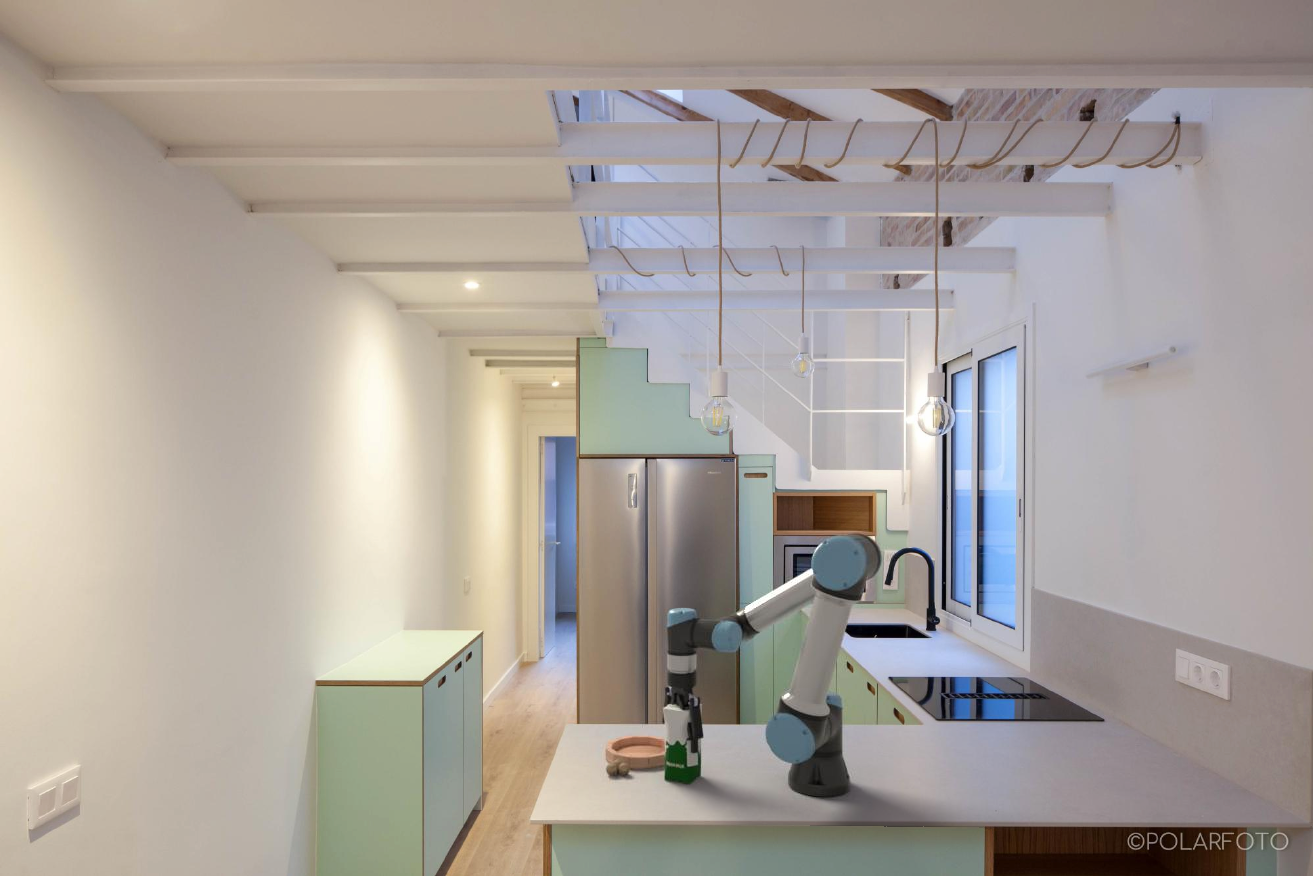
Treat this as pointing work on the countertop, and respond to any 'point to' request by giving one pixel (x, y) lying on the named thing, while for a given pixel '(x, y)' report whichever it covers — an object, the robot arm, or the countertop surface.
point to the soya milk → (679, 746)
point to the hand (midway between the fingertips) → (682, 759)
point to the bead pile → (617, 768)
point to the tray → (637, 751)
